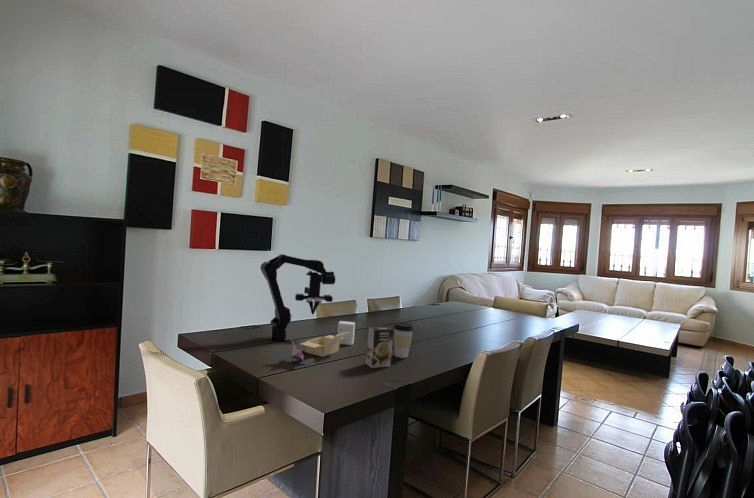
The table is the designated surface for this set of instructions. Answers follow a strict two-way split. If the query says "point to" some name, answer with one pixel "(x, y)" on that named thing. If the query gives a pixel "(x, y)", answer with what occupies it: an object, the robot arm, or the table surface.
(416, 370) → the table surface
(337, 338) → the flap
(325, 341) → the carton
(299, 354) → the lily
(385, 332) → the coffee box
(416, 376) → the table surface
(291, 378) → the table surface
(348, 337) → the small box
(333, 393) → the table surface
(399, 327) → the coffee cup
